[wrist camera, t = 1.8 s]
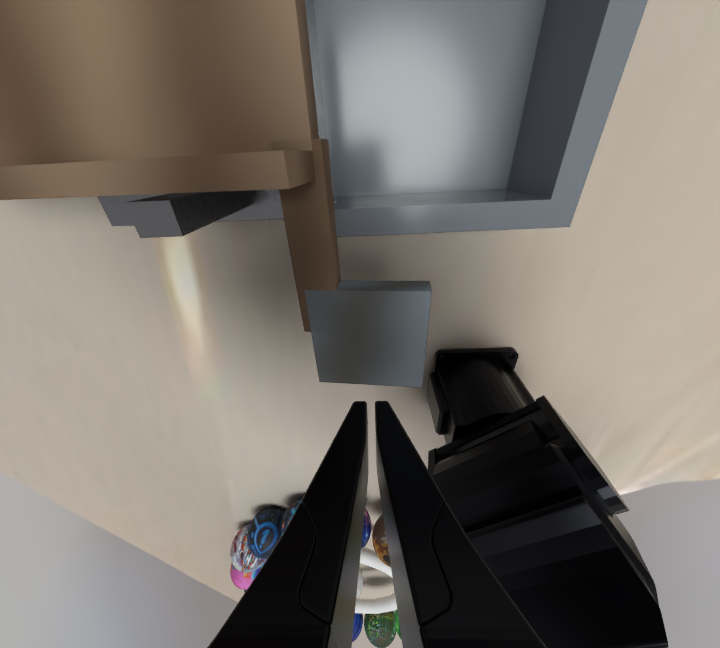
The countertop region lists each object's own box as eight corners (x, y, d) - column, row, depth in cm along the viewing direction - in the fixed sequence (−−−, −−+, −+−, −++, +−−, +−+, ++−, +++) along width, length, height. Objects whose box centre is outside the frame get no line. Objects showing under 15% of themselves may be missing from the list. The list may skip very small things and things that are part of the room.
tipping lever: (478, -245, 5) (574, -726, 2) (420, 373, 14) (426, 432, 11) (-306, -67, 8) (-695, -187, 5) (43, 354, 17) (-33, 398, 14)
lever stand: (267, -110, 11) (100, -559, 4) (310, 214, 17) (273, 254, 10) (-22, -84, 11) (-614, -446, 4) (124, 222, 18) (-29, 266, 11)
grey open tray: (603, -150, 10) (774, -367, 6) (517, 208, 17) (569, 227, 12) (273, -119, 11) (213, -300, 6) (315, 217, 17) (299, 238, 13)
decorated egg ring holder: (235, 444, 38) (193, 512, 30) (493, 482, 35) (520, 568, 27) (263, 563, 54) (240, 627, 47) (439, 595, 52) (447, 669, 44)
